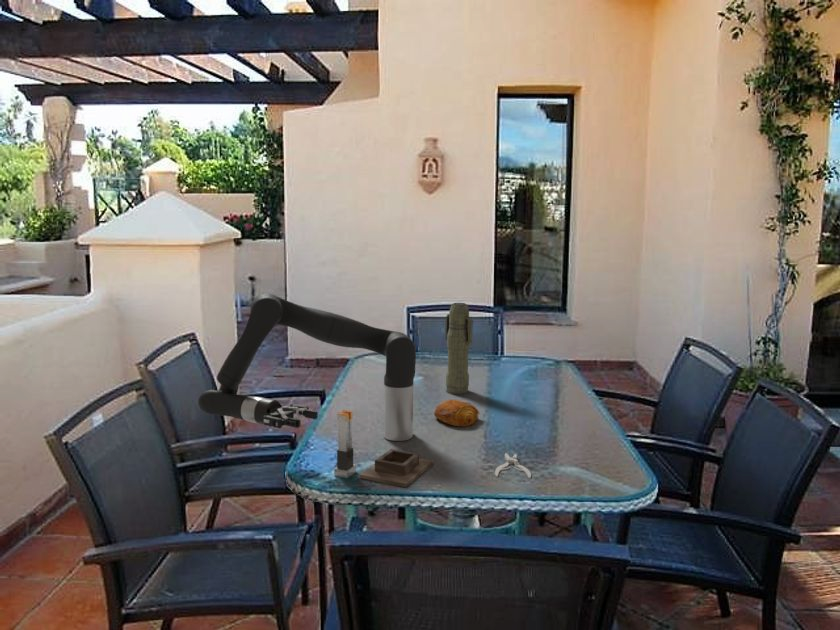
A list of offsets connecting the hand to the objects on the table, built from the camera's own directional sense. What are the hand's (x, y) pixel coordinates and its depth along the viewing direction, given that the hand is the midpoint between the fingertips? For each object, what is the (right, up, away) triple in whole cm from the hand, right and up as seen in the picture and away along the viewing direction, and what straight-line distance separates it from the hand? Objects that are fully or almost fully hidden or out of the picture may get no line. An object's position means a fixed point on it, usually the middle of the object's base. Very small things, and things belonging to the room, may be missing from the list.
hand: (308, 419), depth 192 cm
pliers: (+57, -15, +4) cm, 59 cm away
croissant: (+44, -7, +45) cm, 63 cm away
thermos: (+46, -1, +79) cm, 92 cm away
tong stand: (+25, -14, 0) cm, 28 cm away
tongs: (+10, -15, -2) cm, 18 cm away
